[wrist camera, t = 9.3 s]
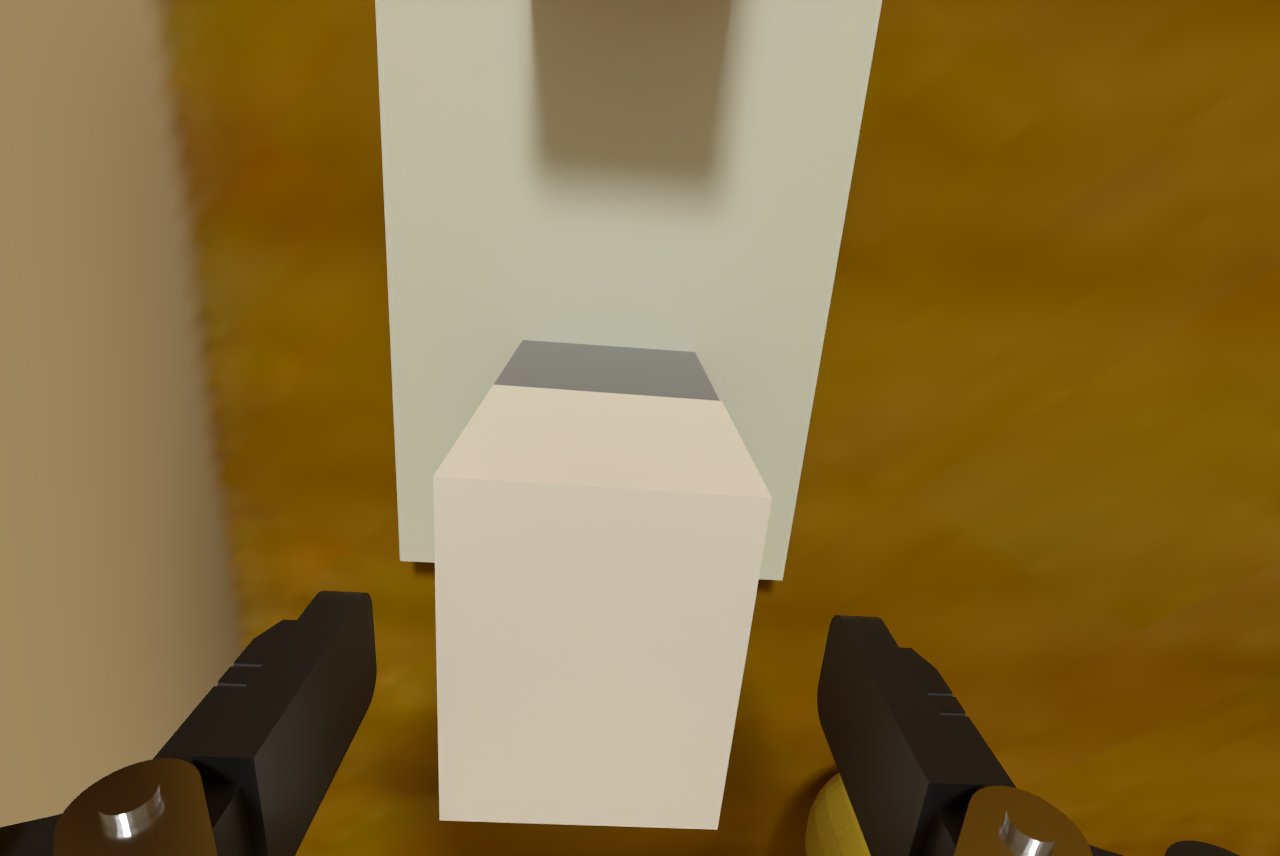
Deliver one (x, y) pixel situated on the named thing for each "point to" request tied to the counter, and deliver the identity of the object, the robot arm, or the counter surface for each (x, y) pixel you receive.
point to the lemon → (834, 824)
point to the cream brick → (593, 608)
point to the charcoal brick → (607, 370)
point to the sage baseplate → (615, 205)
